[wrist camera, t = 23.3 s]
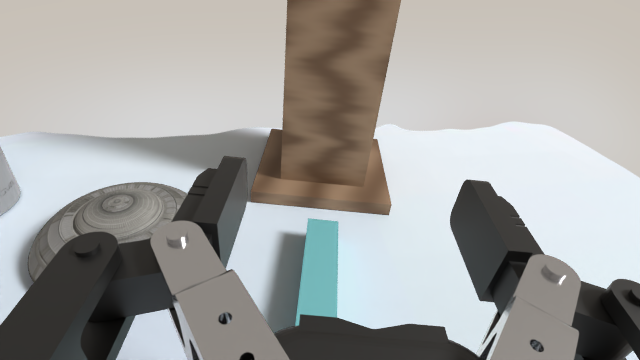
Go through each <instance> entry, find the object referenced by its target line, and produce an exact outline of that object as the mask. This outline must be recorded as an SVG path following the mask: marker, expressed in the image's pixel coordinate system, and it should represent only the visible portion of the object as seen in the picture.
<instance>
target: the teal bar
mask: <svg viewBox="0 0 640 360" xmlns="http://www.w3.org/2000/svg"><path fill="white" fill-rule="evenodd" d="M337 275H338V222H337V221H328V220H318V219H309V218H308V225H307V233H306V241H305V250H304V258H303V266H302V274H301V282H300V290H299V299H298V307H297V315H296V323H295V326H298V325H299V320H300V314H304V315H315V316H327V317H336V318H337Z"/></svg>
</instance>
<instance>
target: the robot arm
mask: <svg viewBox="0 0 640 360" xmlns="http://www.w3.org/2000/svg"><path fill="white" fill-rule="evenodd" d="M20 194H21V191H20V187H19V185H18V183H17V181H16V179H15V177H14V175H13V173H12V171H11V168H10V166H9V164H8V162H7V160H6V157H5V155H4V153H3V151H2V149H1V147H0V215H2V214H3V213H5V212H6V211H8V210H9V209H10V208H11V207H12V206H13V205H14V204H15V203H16V202H17V201H18V199H19V198H20ZM246 203H247V164H246V159H245V158H239V157H229V156H224V157H223V159H222V161H221V163H220V165H219V167H218V169H211V168H208V169H207V170H205V171H204V172H202V173H201V174H200V175H198V176H197V178H196V180H195V182H194V183H193V185H192V187H191V189H190V190H189V192H188V195H187V196H186V197H185V199H184V201H183V203H182V204H181V206H180V208H179V210H178V211H177V213H176V215H175V217H174V218H173V220H172V222H170V223H167V224H165V225H163V226H161V227H160V228H158V229H157V230H156V231H155V232H154V233H153V235H152V237H151V238H149V239H145V240H140V241H134V242H127V243H120V244H118V241H117V239H116V237H115V236H114V235H112V234H110V233H107V232H89V233H85V234H82V235H79V236H77V237H75V238H73V239H71V240H70V241H68V242H67V243H66V244H64V245H63V246H62V248H61V249H60V250H59V251H58V253H57V254H56V255H55V256H54V258H53V259H52V260H51V261H50V263H49V264H48V265H47V267H46V268H45V269H44V270H43V272H42V273H41V274H40V275H39V277H38V278H37V279H36V281H35V282H34V283H33V284H32V286H31V287H30V288H29V290H28V291H27V292H26V293H25V295H24V296H23V297H22V298H21V300H20V301H19V302H18V304H17V305H16V306H15V307H14V309H13V310H12V311H11V313H10V314H9V315H8V316H7V318H6V319H5V320H4V321H3V323H2V324H1V325H0V360H116V358H117V356H118V353H119V351H120V349H121V347H122V344H123V342H124V340H125V338H126V336H127V333H128V331H129V329H130V327H131V325H132V322H133V320H134V318H135V316H136V315H139V314H144V313H149V312H154V311H159V310H164V309H168V312H169V314H170V317H171V319H172V322H173V324H174V327H175V329H176V332H177V334H178V337H179V339H180V342H181V344H182V347H183V349H184V352H185V354H186V357H187V360H626V358H625V357H626V356H627V355H628V354H629V353H631V352H632V351H634V352H635V354H636V355H637V357H638V358H639V360H640V284H639V283H637V282H634V281H631V280H626V279H617V280H615V281H613V282H612V283H611V284H610V286H609V287H608V288H607V289H604V288H601V287H598V286H595V285H592V284H589V283H586V282H583V281H580V278H579V276H578V275H577V273H576V272H575V271H574V270H573V269H572V268H571V267H570V266H568V265H567V264H566V263H564V262H563V261H561V260H559V259H557V258H554V257H552V256H548V255H545V254H544V253H543V251H542V250H541V248H540V247H539V245H538V244H537V242H536V241H535V239H534V238H533V236H532V235H531V233H530V232H529V230H528V228H527V227H525V224H524V222H523V221H522V219H521V218H519V215H518V213H517V212H516V210H515V209H514V207H513V206H512V205H511V204H510V203H509V202H507V201H506V200H505V199H504V198H503V197H501V196H498V195H497V194H496V192H495V191H494V189H493V187H492V186H491V184H490V183H489V182H486V181H476V180H466V181H464V183H463V185H462V187H461V189H460V192H459V194H458V197H457V199H456V202H455V204H454V207H453V209H452V212H451V216H450V226H451V229H452V232H453V234H454V237H455V239H456V242H457V245H458V247H459V250H460V252H461V255H462V257H463V260H464V262H465V265H466V267H467V270H468V272H469V275H470V277H471V280H472V282H473V285H474V288H475V290H476V293H477V295H478V298H479V300H480V301H487V302H494V303H495V305H496V307H497V311H496V313H495V314H494V316H493V318H492V321H491V323H490V325H489V327H488V329H487V331H486V334H485V336H484V338H483V340H482V342H481V344H480V347H479V349H478V351H477V353H476V354H475V353H473V352H472V351H470V350H469V349H467V348H466V347H464V346H462V345H460V344H458V343H456V342H454V341H451V340H448V337H447V334H446V330H445V327H440V326H428V325H417V324H405V325H399V326H393V327H387V328H381V329H370V328H367V327H364V326H361V325H358V324H355V323H352V322H349V321H346V320H343V319H339V318H336V317H327V316H315V315H304V314H300V320H299V325H298V326H292V327H289V328H285V329H282V330H280V331H278V332H275V333H273V332H272V330H271V329H270V327H269V325H268V324H267V322H266V320H265V319H264V317H263V316H262V314H261V312H260V311H259V309H258V308H257V306H256V304H255V303H254V301H253V300H252V298H251V296H250V295H249V293H248V291H247V290H246V288H245V287H244V285H243V283H242V282H241V280H240V279H239V277H238V275H237V274H236V273H235V271H234V270H232V269H231V270H228V271H227V270H226V266H227V263H228V260H229V257H230V254H231V251H232V248H233V245H234V242H235V239H236V236H237V233H238V230H239V226H240V223H241V220H242V217H243V214H244V211H245V208H246Z"/></svg>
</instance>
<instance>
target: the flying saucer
mask: <svg viewBox="0 0 640 360" xmlns="http://www.w3.org/2000/svg"><path fill="white" fill-rule="evenodd" d="M187 195H188V194H187V193H185V192H183V191H181V190H179V189H177V188H174V187H171V186H167V185H163V184H158V183H148V182H135V183H125V184H118V185H113V186H109V187H105V188H102V189H99V190H96V191H93V192H91V193H88V194H86V195H84V196H82V197H80V198H78V199H76V200H74V201H73V202H71V203H69V204H68V205H66V206H65V207H64V208H62V209H61V210H60V211H59V212H57V213H56V214H55V215H54V216H53V217H52V218H51V219H50V220H49V221H48V222H47V223H46V224H45V225H44V227H43V228H42V229H41V231H40V232H39V234H38V235H37V237H36V239H35V240H34V242H33V245H32V247H31V250H30V253H29V257H28V271H29V274H30V277H31V279H32V280H33V282H35V281H36V279H37V278H38V277H39V275H40V274H41V273H42V272H43V270H44V269H45V268H46V267H47V265H48V264H49V263H50V261H51V260H52V259H53V258H54V256H55V255H56V254H57V253H58V251H59V250H60V249H61V248H62V246H63V245H64V244H66V243H67V242H68V241H70V240H71V239H73V238H75V237H77V236H79V235H82V234H85V233H89V232H107V233H110V234H112V235H114V236H115V237H116V239H117V241H118V244H120V243H127V242H134V241H140V240H145V239H149V238H151V237H152V235H153V233H154V232H155V231H156V230H157V229H158V228H160V227H161V226H163V225H165V224H167V223H170V222H172V220H173V218H174V217H175V215H176V213H177V211H178V210H179V208H180V206H181V204H182V203H183V201H184V199H185V197H186V196H187Z"/></svg>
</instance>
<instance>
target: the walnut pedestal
mask: <svg viewBox="0 0 640 360" xmlns="http://www.w3.org/2000/svg"><path fill="white" fill-rule="evenodd" d="M287 1H288V2H287V25H286V51H285V52H286V54H285V78H284V79H285V80H284V104H283V130H278V129H271V132H270V135H269V138H268V141H267V144H266V147H265V150H264V153H263V156H262V159H261V162H260V165H259V168H258V171H257V174H256V177H255V180H254V183H253V186H252V189H251V202H257V203H267V204H278V205H289V206H299V207H310V208H320V209H331V210H341V211H352V212H362V213H373V214H384V215H389V212H390V208H391V201H390V196H389V191H388V187H387V182H386V178H385V173H384V168H383V164H382V159H381V155H380V150H379V145H378V141H377V139H373V137H374V132H375V127H376V122H377V117H378V112H379V107H380V102H381V97H382V92H383V87H384V82H385V77H386V72H387V67H388V62H389V57H390V52H391V47H392V42H393V37H394V33H395V28H396V23H397V18H398V12H399V7H400V3H401V0H287Z"/></svg>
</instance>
